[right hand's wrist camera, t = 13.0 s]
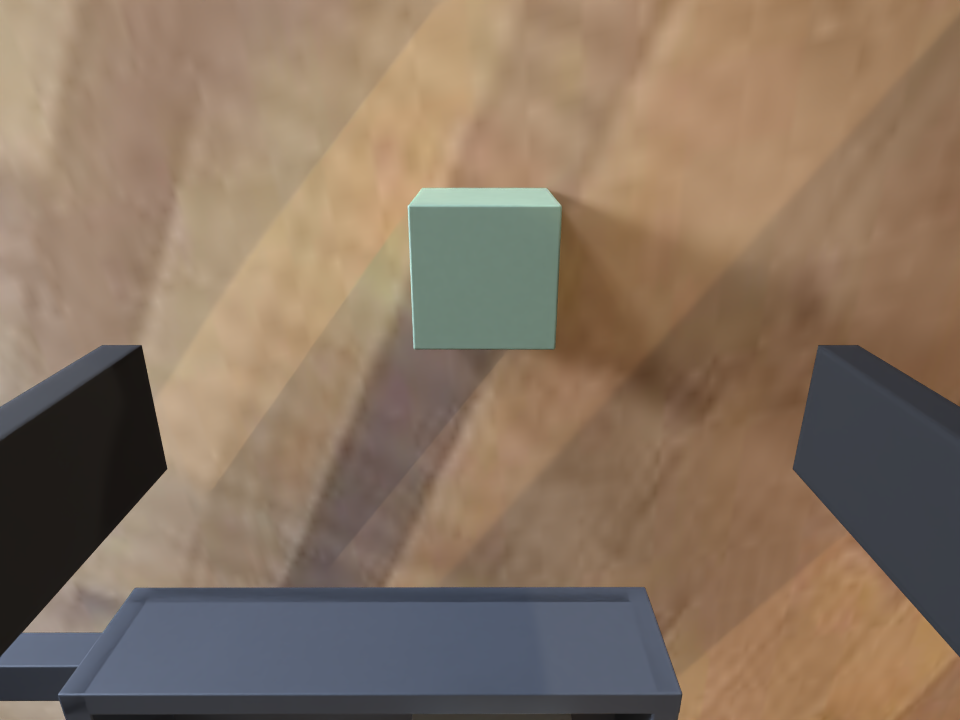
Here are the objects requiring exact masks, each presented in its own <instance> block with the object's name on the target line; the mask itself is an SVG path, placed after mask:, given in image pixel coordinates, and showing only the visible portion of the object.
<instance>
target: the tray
mask: <svg viewBox="0 0 960 720" xmlns="http://www.w3.org/2000/svg"><path fill="white" fill-rule="evenodd" d="M681 699H682V692H681V689H680V686H679V683H678V680H677V677H676V674H675V672H674V669H673V666H672V663H671V660H670V657H669V655H668V652H667V649H666V646H665V643H664V640H663V637H662V635H661V632H660V629H659V626H658V623H657V620H656V617H655V615H654V612H653V609H652V606H651V603H650V600H649V597H648V595H647V592H646V589H645V588H644V587H441V588H135V589H134V590H133V591H132V593H131V594H130V595H129V597H128V598H127V600H126V601H125V602H124V604H123V605H122V606H121V608H120V609H119V611H118V612H117V613H116V615H115V616H114V618H113V619H112V620H111V622H110V623H109V624H108V626H107V627H106V629H105V630H104V631H103V633H21V634H20V635H19V637H18V638H17V639H16V640H15V641H14V642H13V643H12V644H11V646H10V647H9V648H8V649H7V650H6V651H5V652H4V653H3V655H2V656H1V657H0V701H60V704H61V707H62V710H63V713H64V716H65V719H66V720H412V715H413V714H571V718H572V720H678V714H679V711H680V705H681Z"/></svg>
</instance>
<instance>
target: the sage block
mask: <svg viewBox="0 0 960 720" xmlns="http://www.w3.org/2000/svg"><path fill="white" fill-rule="evenodd" d="M561 217H562V206H561V205H560V203H559V202H558V201H557V200H556V199H555V197H554V196H553V195H552V194H551V193H550V191H549V190H548V189H547V188H422V189H421V190H420V192H419V193H418V194H417V196H416V197H415V198H414V199H413V201H412V202H411V203H410V204H409V206H408V221H409V245H410V269H411V294H412V318H413V342H414V349H534V350H553V349H555V344H556V323H557V301H558V280H559V259H560V238H561Z"/></svg>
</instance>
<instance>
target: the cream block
mask: <svg viewBox="0 0 960 720" xmlns="http://www.w3.org/2000/svg"><path fill="white" fill-rule="evenodd" d="M412 720H572V718H571V714H413V715H412Z"/></svg>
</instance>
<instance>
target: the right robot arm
mask: <svg viewBox="0 0 960 720" xmlns="http://www.w3.org/2000/svg"><path fill="white" fill-rule="evenodd" d="M166 470H167V465H166V460H165V456H164V451H163V446H162V441H161V436H160V432H159V427H158V422H157V417H156V412H155V407H154V403H153V398H152V393H151V388H150V383H149V379H148V374H147V369H146V364H145V359H144V355H143V350H142V345H102V346H100V347H98V348H97V349H95V350H93V351H92V352H90V353H89V354H87V355H85V356H84V357H82V358H80V359H79V360H77V361H75V362H74V363H72V364H70V365H69V366H67V367H65V368H64V369H62V370H60V371H59V372H57V373H55V374H54V375H52V376H51V377H49V378H47V379H46V380H44V381H42V382H41V383H39V384H37V385H36V386H34V387H32V388H31V389H29V390H27V391H26V392H24V393H22V394H21V395H19V396H17V397H16V398H14V399H13V400H11V401H9V402H8V403H6V404H4V405H3V406H1V407H0V657H1V656H2V655H3V653H4V652H5V651H6V650H7V649H8V648H9V647H10V646H11V644H12V643H13V642H14V641H15V640H16V639H17V638H18V637H19V635H20V634H21V633H22V632H23V631H24V630H25V629H26V627H27V626H28V625H29V624H30V623H31V622H32V621H33V620H34V618H35V617H36V616H37V615H38V614H39V613H40V612H41V611H42V609H43V608H44V607H45V606H46V605H47V604H48V603H49V602H50V600H51V599H52V598H53V597H54V596H55V595H56V594H57V593H58V591H59V590H60V589H61V588H62V587H63V586H64V585H65V584H66V582H67V581H68V580H69V579H70V578H71V577H72V576H73V575H74V573H75V572H76V571H77V570H78V569H79V568H80V567H81V566H82V564H83V563H84V562H85V561H86V560H87V559H88V558H89V556H90V555H91V554H92V553H93V552H94V551H95V550H96V549H97V547H98V546H99V545H100V544H101V543H102V542H103V541H104V540H105V538H106V537H107V536H108V535H109V534H110V533H111V532H112V531H113V529H114V528H115V527H116V526H117V525H118V524H119V523H120V522H121V520H122V519H123V518H124V517H125V516H126V515H127V514H128V513H129V511H130V510H131V509H132V508H133V507H134V506H135V505H136V504H137V502H138V501H139V500H140V499H141V498H142V497H143V496H144V495H145V493H146V492H147V491H148V490H149V489H150V488H151V487H152V486H153V484H154V483H155V482H156V481H157V480H158V479H159V478H160V476H161V475H162V474H163V473H164V472H165V471H166ZM793 470H794V471H795V472H796V473H797V474H798V475H799V477H800V478H801V479H802V480H803V481H804V482H805V483H806V484H807V486H808V487H809V488H810V489H811V490H812V491H813V492H814V493H815V495H816V496H817V497H818V498H819V499H820V500H821V501H822V502H823V504H824V505H825V506H826V507H827V508H828V509H829V510H830V511H831V513H832V514H833V515H834V516H835V517H836V518H837V519H838V520H839V522H840V523H841V524H842V525H843V526H844V527H845V528H846V529H847V531H848V532H849V533H850V534H851V535H852V536H853V537H854V538H855V540H856V541H857V542H858V543H859V544H860V545H861V546H862V547H863V549H864V550H865V551H866V552H867V553H868V554H869V555H870V557H871V558H872V559H873V560H874V561H875V562H876V563H877V564H878V566H879V567H880V568H881V569H882V570H883V571H884V572H885V573H886V575H887V576H888V577H889V578H890V579H891V580H892V581H893V582H894V584H895V585H896V586H897V587H898V588H899V589H900V590H901V591H902V593H903V594H904V595H905V596H906V597H907V598H908V599H909V600H910V602H911V603H912V604H913V605H914V606H915V607H916V608H917V609H918V611H919V612H920V613H921V614H922V615H923V616H924V617H925V618H926V620H927V621H928V622H929V623H930V624H931V625H932V626H933V627H934V629H935V630H936V631H937V632H938V633H939V634H940V635H941V637H942V638H943V639H944V640H945V641H946V642H947V643H948V644H949V646H950V647H951V648H952V649H953V650H954V651H955V652H956V653H957V655H958V656H959V657H960V407H959V406H957V405H956V404H954V403H952V402H951V401H949V400H947V399H946V398H944V397H942V396H941V395H939V394H938V393H936V392H934V391H933V390H931V389H929V388H928V387H926V386H924V385H923V384H921V383H919V382H918V381H916V380H914V379H913V378H911V377H909V376H908V375H906V374H905V373H903V372H901V371H900V370H898V369H896V368H895V367H893V366H891V365H890V364H888V363H886V362H885V361H883V360H881V359H880V358H878V357H876V356H875V355H873V354H871V353H870V352H868V351H867V350H865V349H863V348H862V347H860V346H858V345H818V350H817V355H816V359H815V364H814V369H813V374H812V379H811V383H810V388H809V393H808V398H807V403H806V407H805V412H804V417H803V422H802V427H801V432H800V436H799V441H798V446H797V451H796V456H795V460H794V465H793Z"/></svg>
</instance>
